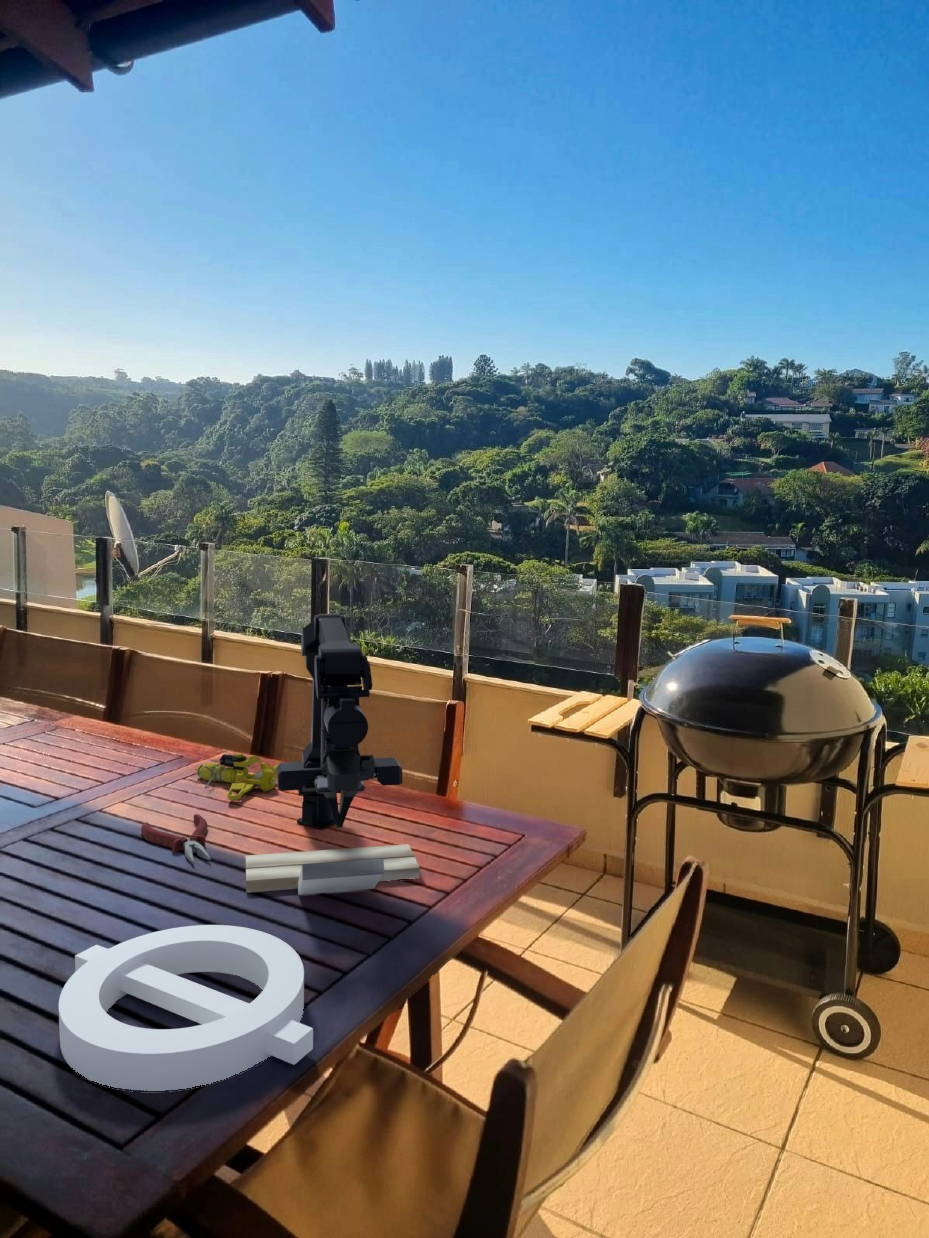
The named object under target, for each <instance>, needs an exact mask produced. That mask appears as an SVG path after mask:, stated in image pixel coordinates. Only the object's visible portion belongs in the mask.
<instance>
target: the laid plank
mask: <svg viewBox="0 0 929 1238" xmlns="http://www.w3.org/2000/svg"><path fill="white" fill-rule="evenodd" d="M382 858H383V860H384V874H383V875H382V877H381V878H380V880H379V881H378V883H381V882H380V881H387V880H397V879H409V878H418V877H419V878H420V871H421V870H420V865H419V863H418V860H417V859H416V856H415V854H414V853H413V850H412V848H411V846H410V844H408V843H407V844H393V845H392V844H391V845H379V846H377V845H376V846H363V847H362V846H361V847H351V848H350V847H349V848H337V849H336V848H334V849H323V850H321V849H320V850H308V851H304V850H303V851H292V852H291V851H290V852H277V853H266V854H265V853H263V854H248V855H245V893H246V894H247V893H261V892H271V891H272V892H273V891H284V890H295V889H297V890H298V880H299V876H300V872H301V868H302V864H313V863H327V862H341V861H354V860H368V859H382Z"/></svg>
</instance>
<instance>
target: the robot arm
mask: <svg viewBox="0 0 929 1238" xmlns="http://www.w3.org/2000/svg"><path fill="white" fill-rule="evenodd" d="M300 641H301V643H300V647H301V649H300V651H301V657H304V661H305V667H306V669H305V670H306V671H308V673H309V675H310V677H311V678H312V689H311V691H312V692H311V726H310V741H309V743H308V744H307V746H306V747H305V748H304V749H303V750H302V752H301V753H302V754H301V761H286V762H284V761H283V762H280V763H279V765H278V764H277V765H278V766H277V772H276V785H277V790H278V791H281V792H287V791H288V792H289V791H297V793H298V796H302V803H301V817H299V818H297V819H296V823H297V824H300V825H304V826H308V827H312V828H315V829H319V830H324V829H325V828H328V827H330V826H332V825H334V824H335V827H336V828H337V829H341V828H343V826H344V823H345V820H346V818H347V816H348V815H347V814H348V813H349V810H350V807H351V804H352V802H353V800H354V799H355V796H357V795H358V793H360V792H361V793H362V792H365V790H366V786H365V785H364V782H365V781H370V780H373V779H374V778H376V780H377V782H378V783H379V784H380V785H381V786H385V787H386V786H400V785H402V784H403V768H402V766H401V765H400V763H399V761H398V760H397V758H395V757H374V754H366V755H364V754H363V755H362V754H361V752H360V750H359V746H360V745H359V744H361V743H362V742H363V741H364V739H365V738H366V736H367V735H368V731H369V723H368V720H367V717H366V716H365V714H364V712H363V709H362V708H361V706H360V698H370V694H371V693H370V691H372V690H373V679H372V671H371V662H370V661H369V660H368V656H367V655H366V654H363V650H362V648H361V647H360V645H358V643H353V642H352V638H351V627H350V626H349V625H348V624H347V623H345V615H344V614H343V615H341V614H340V613H319V614H316V615H314V618H313V621H311V622H310V623H308V624H307V625H306V626H304V627H302V631H301V639H300ZM338 794H340V797H339V801H338ZM338 803H339V804H338Z"/></svg>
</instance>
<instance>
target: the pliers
mask: <svg viewBox="0 0 929 1238" xmlns="http://www.w3.org/2000/svg"><path fill="white" fill-rule="evenodd" d="M193 824H194V825H195V826H196V828H195V829H194V830H193V833H192V834H190V837H189V840H188V838H187V837H186V836H185V837H184V836H179V835H175V834H172V833H168V832H165V831H161V830H157V829H155V828H153V827H151V824H149V822H144V823H143V824H141V827H140V832H141V834H142V837H143V838H144V839H145V840H146V841H147V842H150V843H152V844H156V845H160V846H162V847H165V848H169V849H171V852H172V853H173V854H176V853H178V852H184V855H185V858H187V859H188V861H189V862H190V863H191V864H193V865H195V860H194V855H193V854H194V853H196V856H198V857H199V858H201V859H203V860H207V861H211V856H210V855H209V854H208V852H207V851H206V849H205V847H206V837H205V835H206V834H207V831H208V821H207V820H206V819H205V818H204V817H203V816H202V815H200V814H197V813H195V814H194V815H193Z"/></svg>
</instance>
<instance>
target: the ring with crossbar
mask: <svg viewBox="0 0 929 1238" xmlns="http://www.w3.org/2000/svg"><path fill="white" fill-rule="evenodd" d="M74 962H75V963H74V964H75V967H74V968H75V969H74V971H75V972H74V973H73V974H72V975H71V976H70V977H69V978H68V980H66V983H65V984H64V986H63V988H62V989H61V992H60V995H59V999H58V1024H59V1026H58V1028H59V1045H60V1047H59V1048H60V1051H61V1054H62V1056H63V1058H64V1061H66V1063H67V1064H68V1066H69V1067H70V1068H71V1069H72V1068H73V1069H72V1070H73V1071H74V1070H75V1071H74V1072H75V1073H77V1072H78V1073H79V1074H78V1073H77V1074H78V1075H80V1074H81V1075H82V1076H81V1075H80V1076H81V1077H83V1076H84V1077H85V1078H84V1077H83V1078H84V1079H86V1078H87V1079H86V1080H88V1081H89V1082H92V1081H94V1082H97V1083H99V1084H98V1085H100V1084H102V1085H101V1086H103V1085H107V1086H109V1087H108V1088H110V1086H111V1087H114V1088H122V1089H129V1090H130V1089H131V1090H142V1091H143V1090H144V1091H146V1090H147V1091H165V1090H178V1089H185V1090H187V1089H186V1088H191V1089H193V1088H192V1087H195V1086H200V1085H201V1087H203V1086H202V1085H205V1086H207V1085H206V1084H209V1085H212V1084H214V1083H213V1082H216V1081H219V1082H221V1081H220V1080H222V1081H224V1079H225V1080H227V1079H226V1078H228V1079H230V1078H229V1077H231V1076H233V1075H235V1074H238V1075H240V1074H241V1073H240V1072H242V1071H245V1070H247V1069H248V1068H251V1067H253V1066H254V1065H255V1064H258V1063H259V1062H261V1061H263V1062H264V1060H265V1059H266V1060H268V1059H269V1058H270V1057H275V1058H276V1059H280V1060H282V1061H284V1062H286V1063H288V1064H291V1065H293V1066H294V1065H296V1064H297V1063H298V1062H300V1060H302V1059H303V1058H304V1057H305V1056H306V1055H308V1054H309V1053H310V1052H311V1051H312V1050H313V1049H314V1028H313V1027H311V1026H308V1025H306V1024H304V1023H301V1022H300V1020H301V1021H302V1019H303V1016H302V1015H304V1011H303V1009H304V1007H305V1005H304V1004H305V968H304V964H303V961H302V959H301V957H300V955H299V954H298V953H297V952H296V950H295V949H294V948H293V947H292V946H290V945H289V944H288V943H287V942H285V940H284V941H283V940H282V939H280V938H279V937H277V936H275V935H273V934H270V933H266V932H264V931H262V930H261V931H260V930H257V929H253V928H249V927H243V926H236V925H227V924H226V925H225V924H198V925H188V926H187V925H186V926H178V927H172V928H168V929H162V930H157V931H153V932H149V933H147V934H143V935H139V936H137V937H133V938H131V939H128V940H125V941H123V942H120V943H117V944H116V945H114V946H112V947H109V948H106V947H104V946H101V945H99V944H95V945H93V946H91V947H88V948H87V949H85V950H83V951H81V952H78V954H75V955H74ZM205 972H206V973H207V972H209V973H220V974H229V975H232V976H236V975H237V976H236V977H239V976H240V978H242V979H245V980H247V981H250V982H251V983H253V984H254V983H255V984H254V985H256V986H257V985H258V986H259V989H261V991H260V993H259V995H258V996H256V998H254V1000H252V1001H251V1002H250V1003H249V1002H246V1001H244V1000H241V999H238V998H236V997H233V996H230V995H228V994H226V993H223V992H220V991H218V990H215V989H213V988H210V987H207V986H205V985H203V984H200V983H197V982H195V981H192V980H189V979H187V978H185V977H182V976H179V975H182V974H189V973H190V974H191V973H205ZM258 986H257V987H258ZM262 990H263V991H262ZM126 995H130V996H133V997H135V998H137V999H140V1000H142V1001H145V1002H147V1003H150V1004H152V1005H155V1006H156V1007H159V1008H162V1009H164V1010H167V1011H168V1012H171V1013H174V1014H176V1015H179V1016H180V1017H184V1018H186V1019H188V1020H190V1021H192V1022H196V1023H198V1024H199V1025H198V1024H197V1025H193V1026H188V1027H187V1026H186V1027H181V1028H171V1029H170V1028H169V1029H168V1028H166V1029H165V1028H164V1029H163V1028H162V1029H161V1028H160V1029H159V1028H158V1029H157V1028H145V1027H140V1026H139V1027H138V1026H134V1025H130V1024H127V1023H125V1022H121V1021H119V1020H117V1019H116V1018H113V1017H112V1016H111V1015H110V1014H108V1013H107V1012H108V1011H109V1010H110V1009H111V1008H112V1006H113V1005H114V1004H116V1003H117V1002H118V1001H119V1000H120V999H122V998H123V997H124V996H126ZM118 999H119V1000H118ZM117 1000H118V1001H117ZM116 1001H117V1002H116ZM109 1008H110V1009H109ZM108 1009H109V1010H108ZM304 1010H305V1009H304ZM301 1018H302V1019H301ZM268 1057H269V1058H268ZM267 1058H268V1059H267ZM266 1060H265V1061H266ZM261 1063H262V1062H261ZM258 1065H259V1064H258ZM253 1068H254V1067H253ZM251 1069H252V1068H251ZM247 1071H248V1070H247ZM245 1072H246V1071H245ZM239 1073H240V1074H239ZM242 1073H243V1072H242ZM233 1077H234V1076H233ZM231 1078H232V1077H231ZM94 1082H93V1083H94ZM97 1083H96V1084H97ZM211 1083H212V1084H211ZM216 1083H217V1082H216ZM114 1088H113V1089H114ZM178 1091H179V1090H178Z"/></svg>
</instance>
